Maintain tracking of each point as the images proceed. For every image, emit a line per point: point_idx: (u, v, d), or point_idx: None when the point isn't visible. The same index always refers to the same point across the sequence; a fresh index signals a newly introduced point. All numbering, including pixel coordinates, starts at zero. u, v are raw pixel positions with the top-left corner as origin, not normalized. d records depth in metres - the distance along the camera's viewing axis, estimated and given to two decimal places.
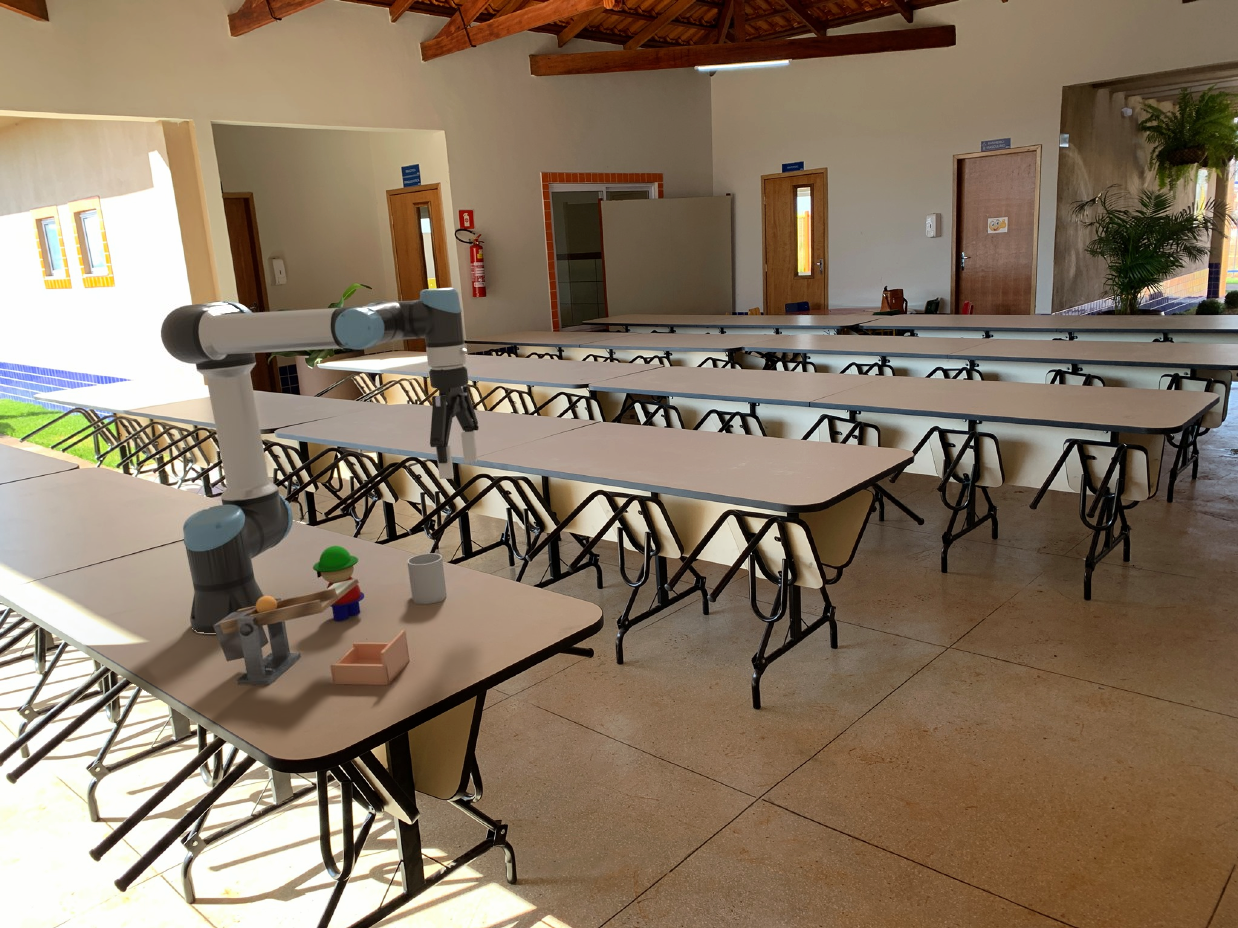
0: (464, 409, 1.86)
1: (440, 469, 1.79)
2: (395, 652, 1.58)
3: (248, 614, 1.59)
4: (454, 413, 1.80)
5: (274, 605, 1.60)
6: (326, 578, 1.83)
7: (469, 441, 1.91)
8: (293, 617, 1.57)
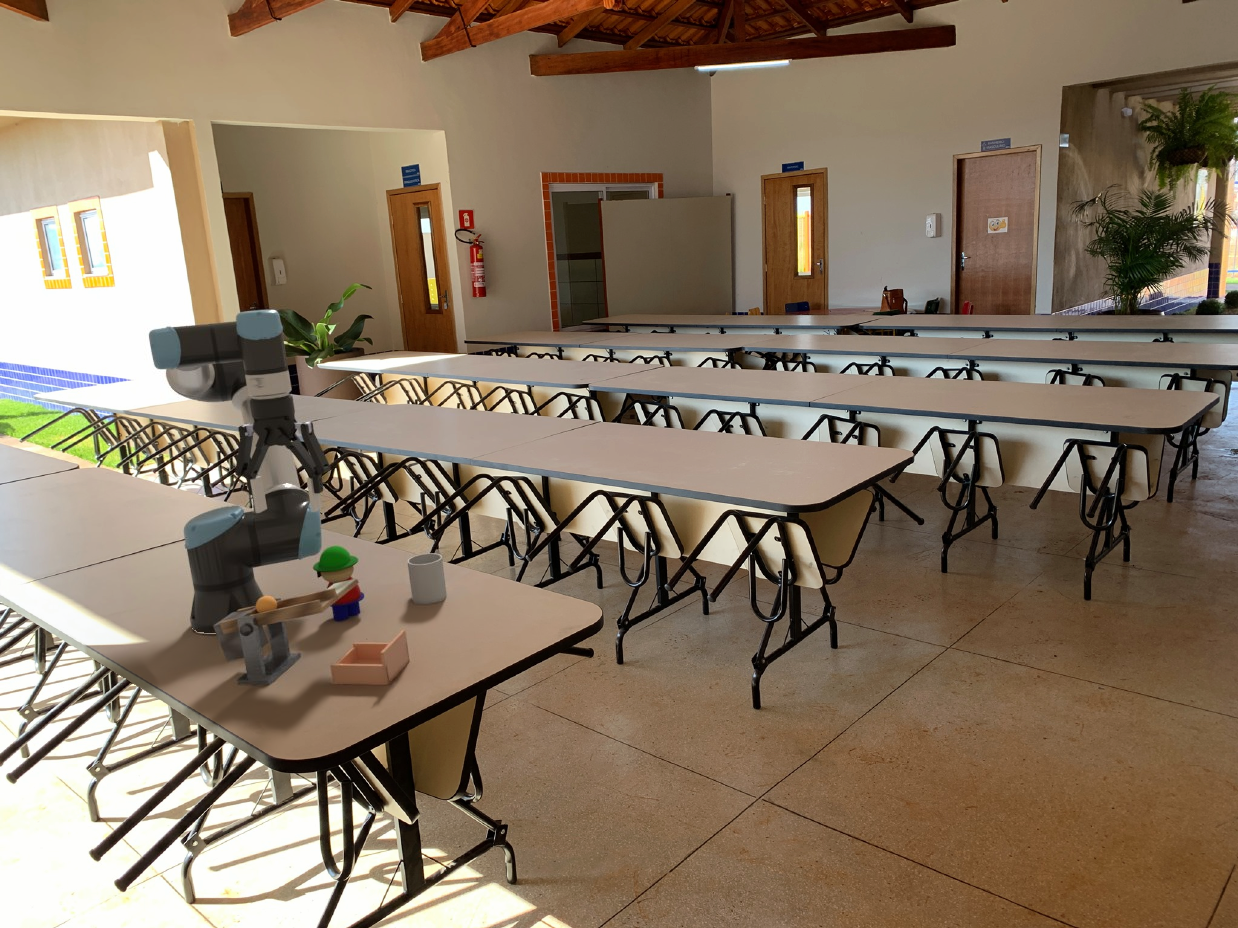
0: None
1: None
2: (395, 652, 1.58)
3: (248, 614, 1.59)
4: (259, 446, 1.68)
5: (274, 605, 1.60)
6: (326, 578, 1.83)
7: None
8: (293, 617, 1.57)
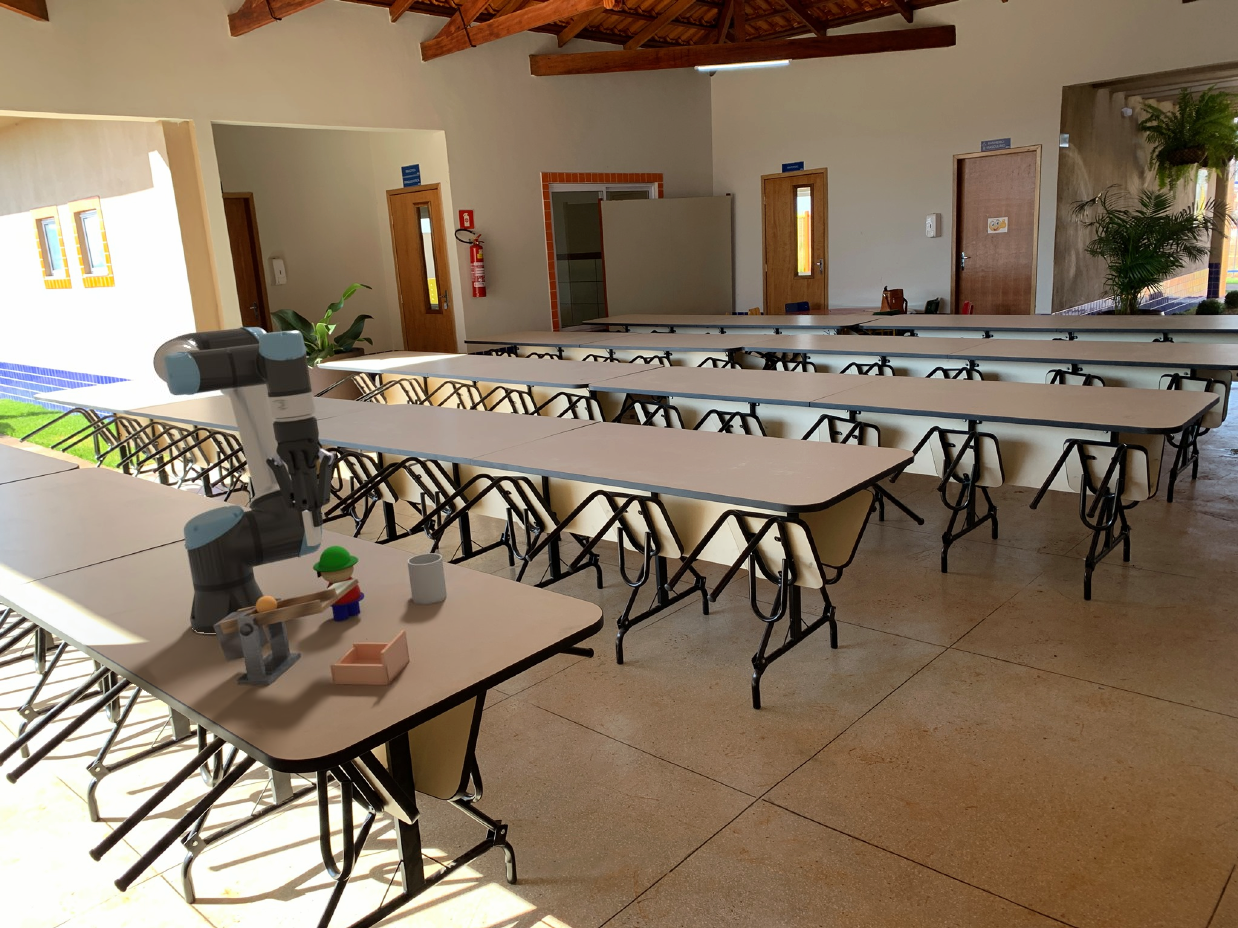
0: None
1: None
2: (395, 652, 1.58)
3: (248, 614, 1.59)
4: (291, 472, 1.64)
5: (274, 605, 1.60)
6: (326, 578, 1.83)
7: None
8: (293, 617, 1.57)
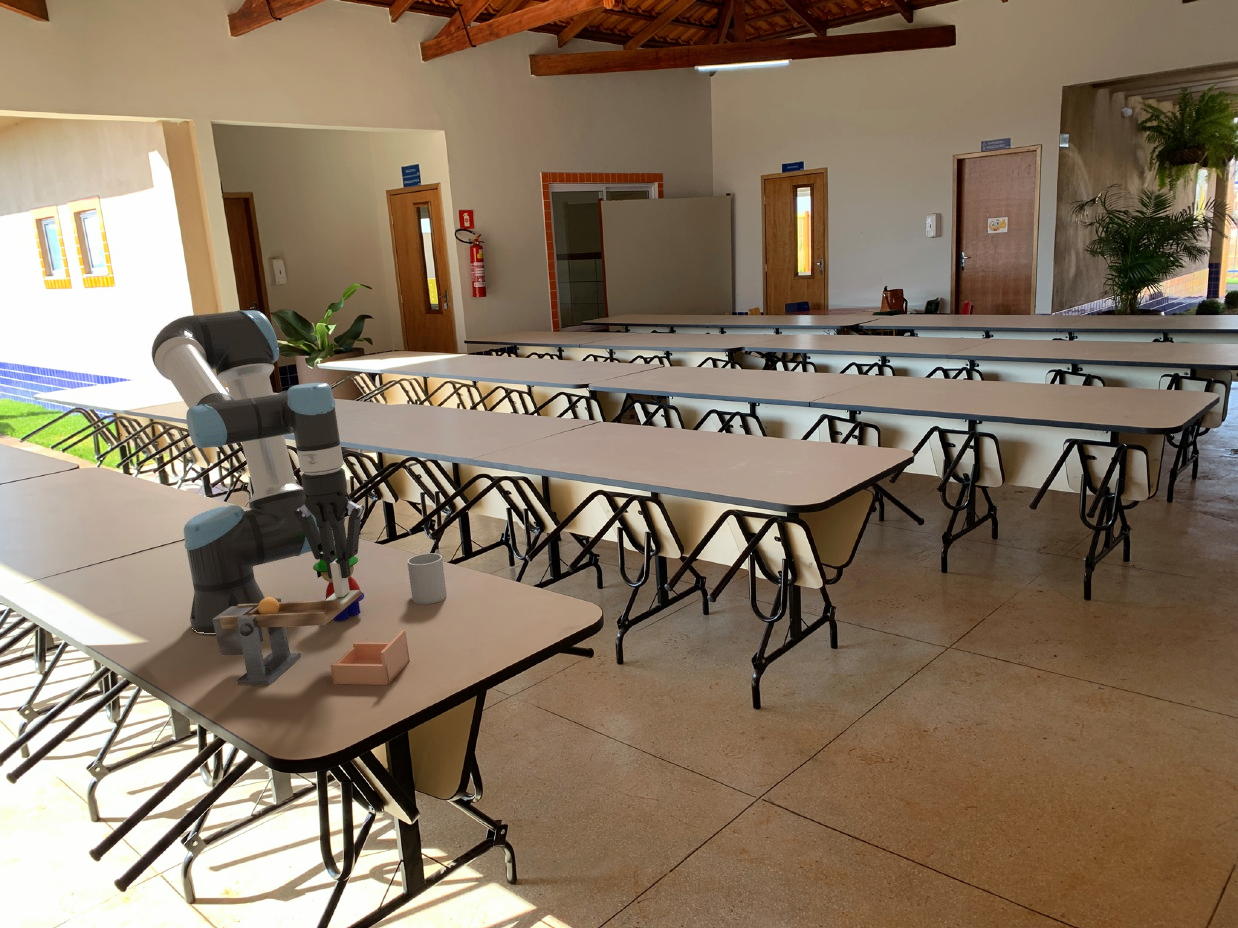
0: None
1: None
2: (395, 652, 1.58)
3: (250, 614, 1.59)
4: (320, 524, 1.63)
5: (277, 608, 1.61)
6: (326, 578, 1.83)
7: None
8: (295, 624, 1.57)
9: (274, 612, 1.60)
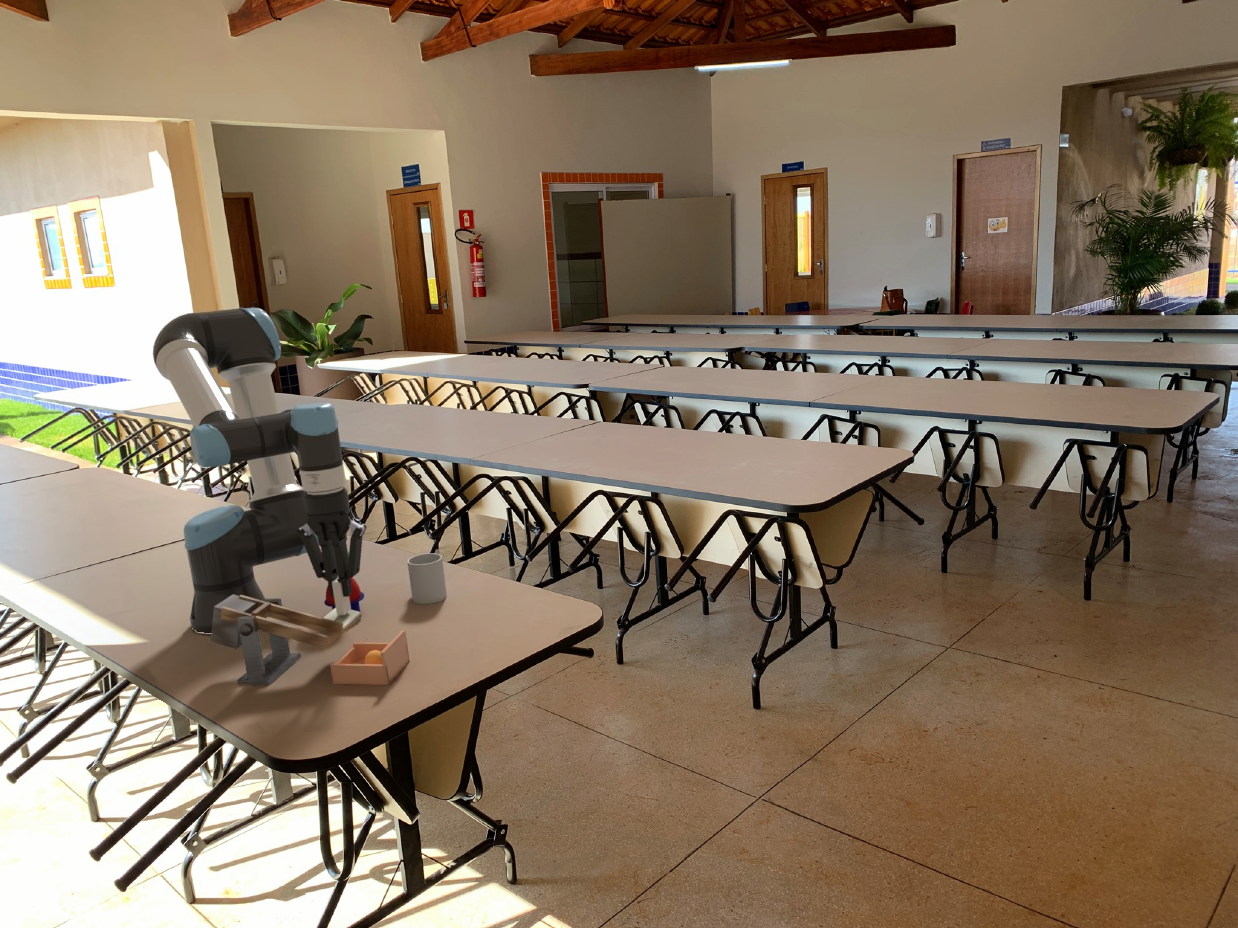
0: None
1: None
2: (395, 652, 1.58)
3: (253, 613, 1.59)
4: (322, 543, 1.64)
5: (378, 652, 1.59)
6: None
7: None
8: (295, 639, 1.58)
9: (379, 657, 1.59)
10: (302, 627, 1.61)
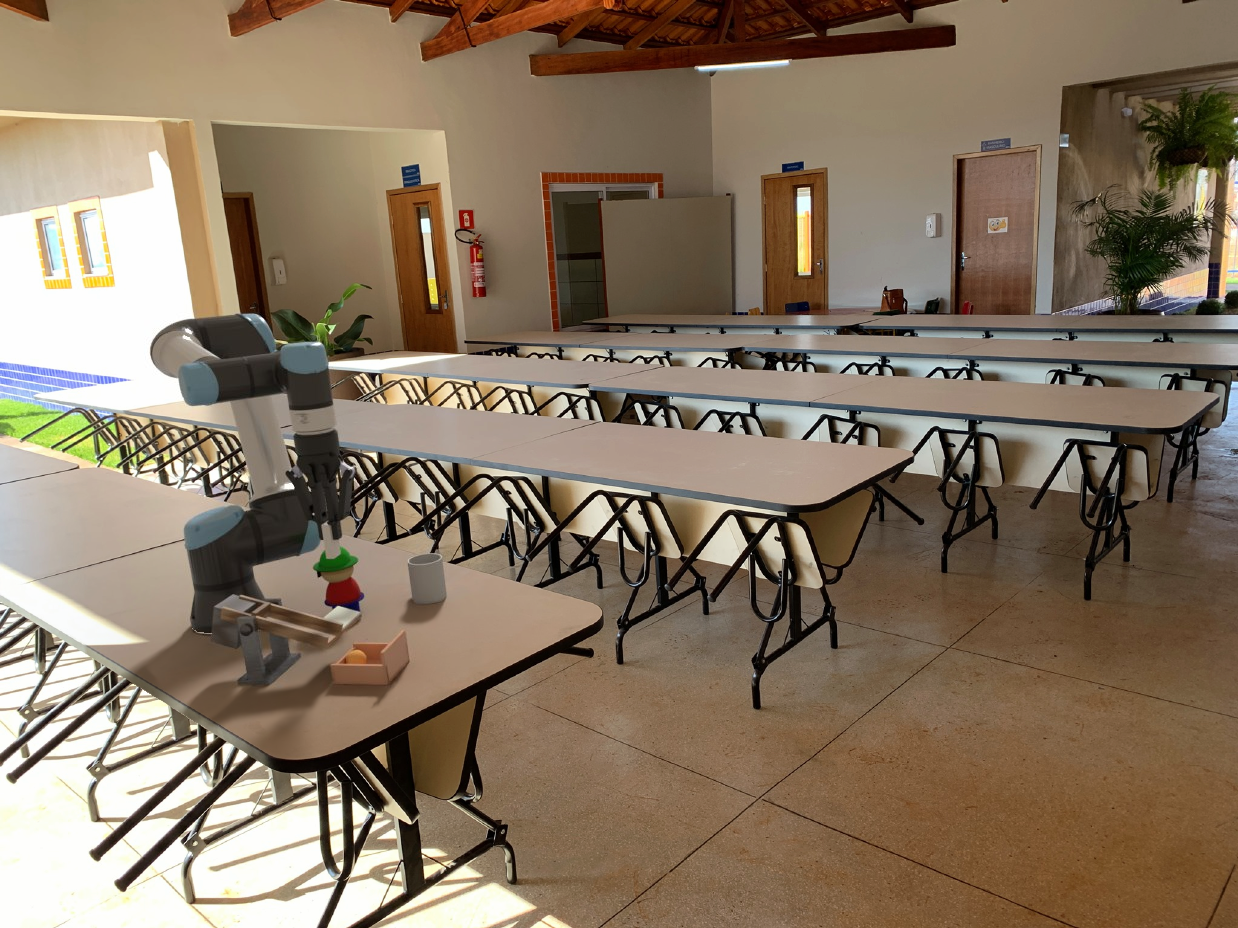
0: None
1: None
2: (395, 652, 1.58)
3: (253, 613, 1.59)
4: (311, 485, 1.62)
5: None
6: (326, 578, 1.83)
7: None
8: (295, 639, 1.58)
9: (346, 657, 1.60)
10: (302, 627, 1.61)
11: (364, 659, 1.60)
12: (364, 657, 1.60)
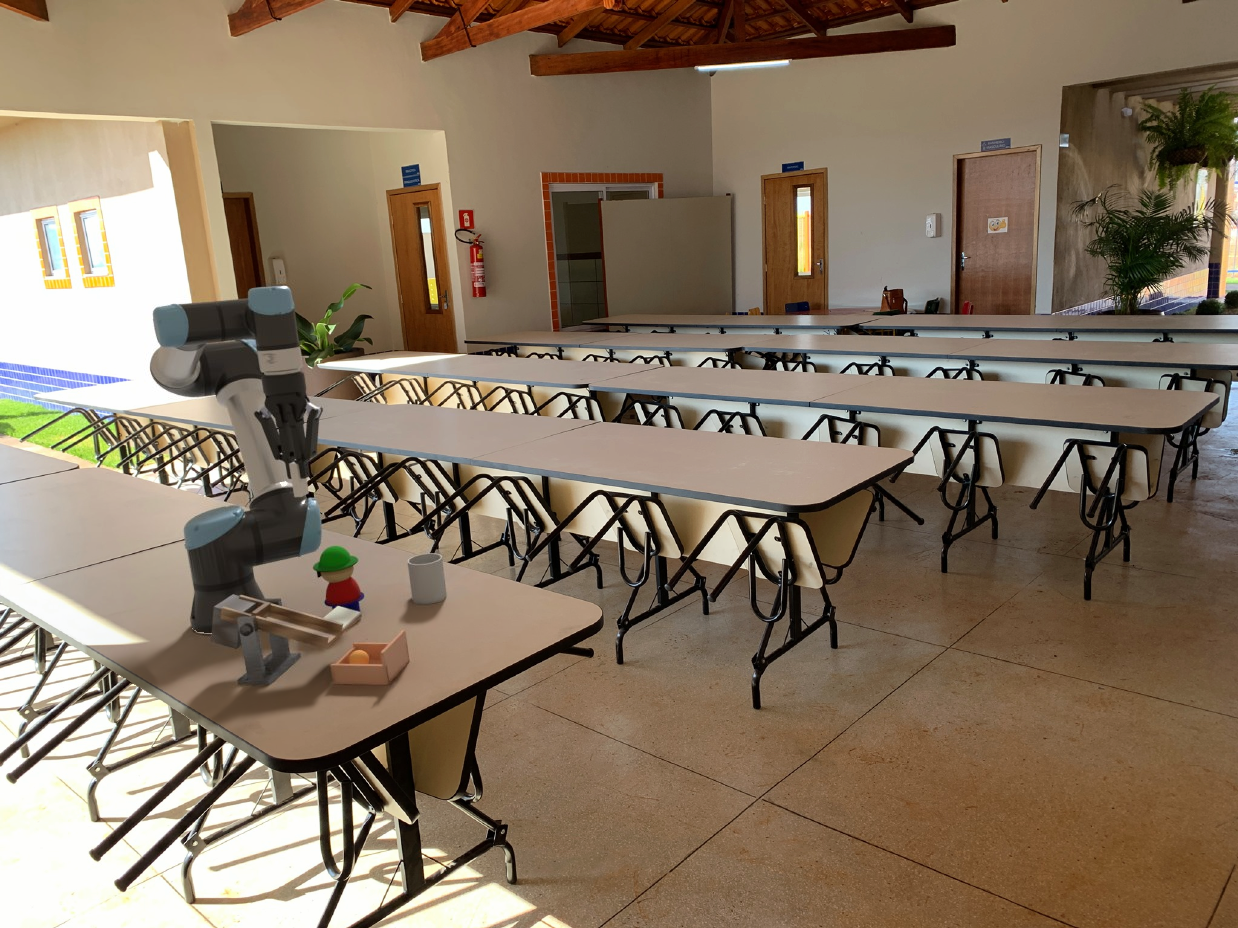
0: None
1: None
2: (395, 652, 1.58)
3: (253, 613, 1.59)
4: (279, 424, 1.68)
5: None
6: (326, 578, 1.83)
7: None
8: (295, 639, 1.58)
9: (350, 655, 1.60)
10: (302, 627, 1.61)
11: (367, 662, 1.60)
12: (367, 660, 1.60)
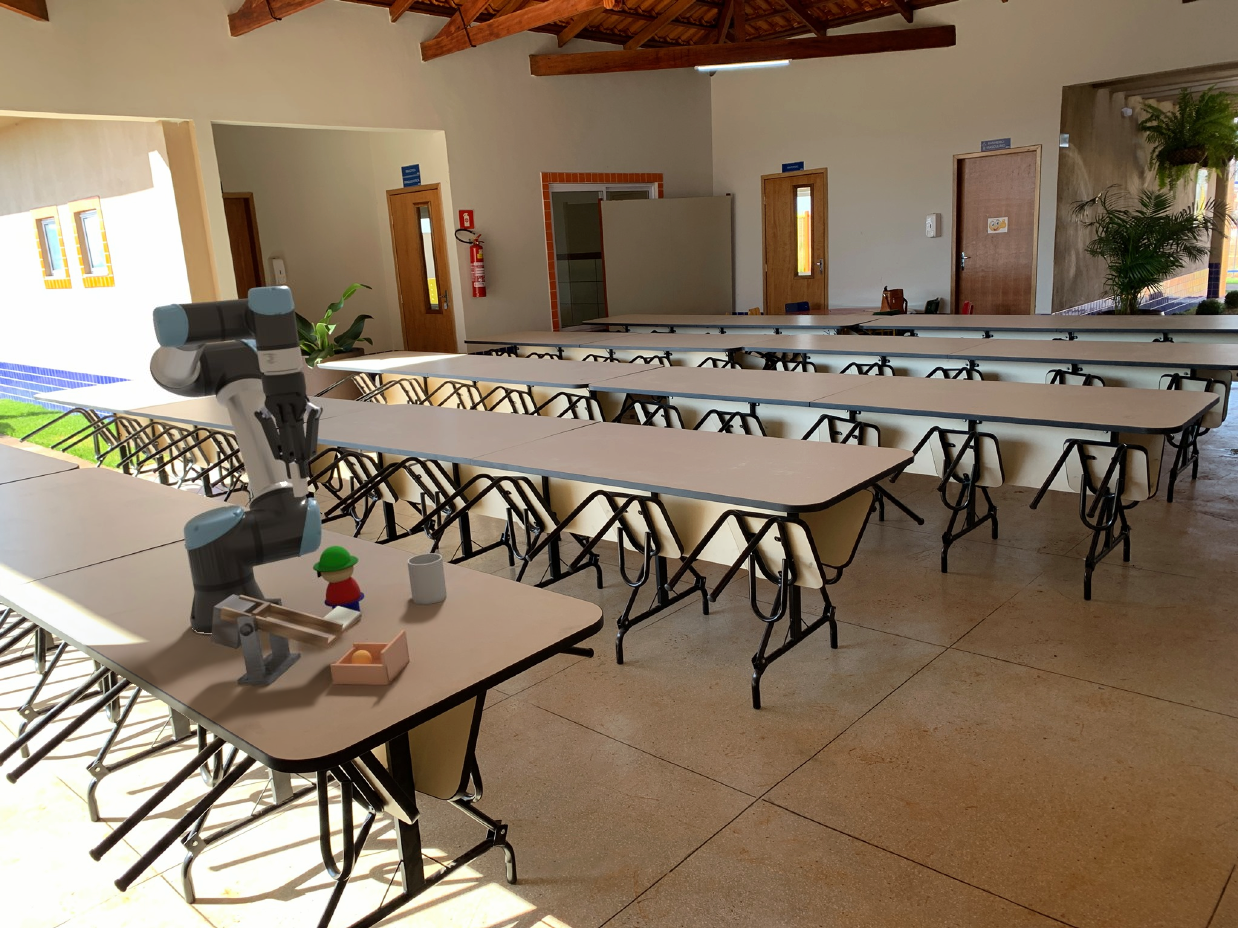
0: None
1: None
2: (395, 652, 1.58)
3: (253, 613, 1.59)
4: (279, 424, 1.68)
5: None
6: (326, 578, 1.83)
7: None
8: (295, 639, 1.58)
9: (354, 654, 1.59)
10: (302, 627, 1.61)
11: None
12: (370, 662, 1.60)
